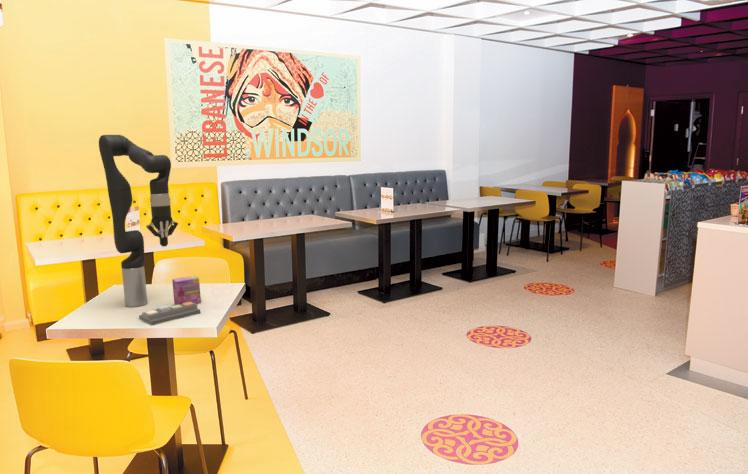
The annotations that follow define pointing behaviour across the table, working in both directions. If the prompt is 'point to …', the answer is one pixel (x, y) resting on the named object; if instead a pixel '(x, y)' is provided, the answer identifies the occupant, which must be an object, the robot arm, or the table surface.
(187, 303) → the key terracotta
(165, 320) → the keypad
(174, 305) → the key sage
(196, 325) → the table surface
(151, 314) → the key cream
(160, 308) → the key blue
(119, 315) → the table surface
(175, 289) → the box
